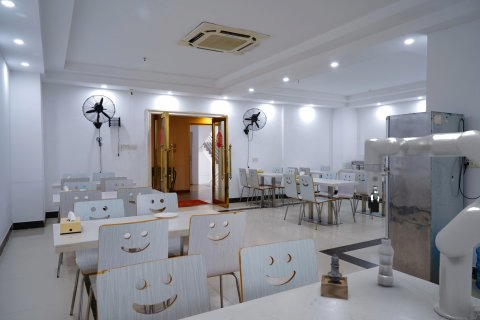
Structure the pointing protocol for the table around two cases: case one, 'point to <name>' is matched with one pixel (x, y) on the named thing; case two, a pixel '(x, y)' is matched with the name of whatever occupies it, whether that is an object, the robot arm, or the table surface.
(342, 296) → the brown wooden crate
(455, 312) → the robot arm
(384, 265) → the plastic bottle
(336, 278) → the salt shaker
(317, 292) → the table surface
